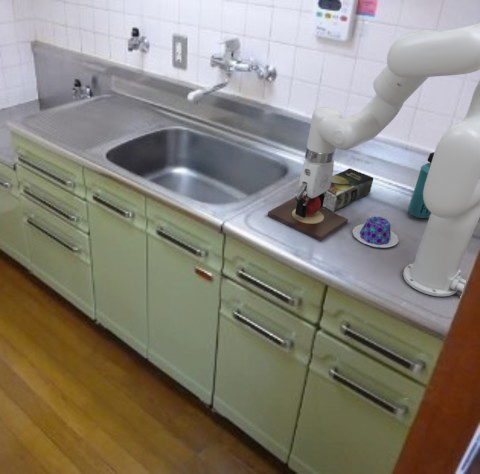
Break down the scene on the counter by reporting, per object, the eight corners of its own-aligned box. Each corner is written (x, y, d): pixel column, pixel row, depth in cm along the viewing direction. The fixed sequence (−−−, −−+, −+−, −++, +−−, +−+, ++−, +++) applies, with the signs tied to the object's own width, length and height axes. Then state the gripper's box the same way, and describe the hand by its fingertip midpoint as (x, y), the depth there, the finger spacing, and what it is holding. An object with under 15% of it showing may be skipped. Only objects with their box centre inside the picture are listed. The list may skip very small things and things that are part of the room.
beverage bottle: (415, 224, 153) (436, 160, 142) (401, 212, 158) (419, 150, 147) (434, 221, 154) (456, 158, 143) (419, 210, 160) (439, 148, 149)
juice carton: (332, 213, 157) (336, 195, 153) (305, 201, 163) (309, 183, 160) (371, 194, 167) (375, 177, 164) (344, 183, 174) (348, 166, 170)
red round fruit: (318, 221, 150) (323, 196, 146) (297, 219, 151) (302, 194, 147) (317, 211, 155) (322, 187, 150) (297, 209, 156) (301, 184, 151)
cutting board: (347, 223, 152) (348, 218, 152) (320, 241, 144) (321, 236, 144) (295, 200, 163) (295, 196, 162) (267, 216, 155) (268, 211, 154)
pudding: (344, 237, 146) (348, 221, 143) (364, 221, 153) (368, 205, 151) (386, 255, 139) (391, 238, 136) (404, 237, 147) (410, 221, 144)
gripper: (313, 168, 135) (302, 226, 145) (349, 150, 145) (336, 205, 155) (289, 159, 140) (280, 216, 149) (325, 141, 150) (314, 196, 159)
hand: (308, 210), depth 152 cm, fingers open, 7 cm apart
